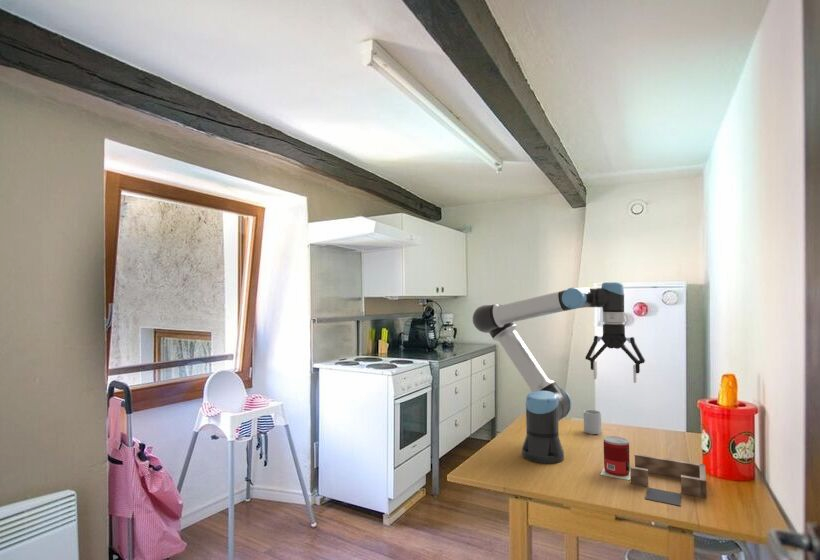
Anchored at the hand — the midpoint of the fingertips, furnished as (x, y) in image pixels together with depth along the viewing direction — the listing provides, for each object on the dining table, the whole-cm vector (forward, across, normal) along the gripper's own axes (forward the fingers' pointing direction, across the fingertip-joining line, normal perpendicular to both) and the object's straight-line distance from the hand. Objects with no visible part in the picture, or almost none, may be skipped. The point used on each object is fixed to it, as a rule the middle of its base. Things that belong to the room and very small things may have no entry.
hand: (614, 380), depth 169 cm
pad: (+29, +2, -14) cm, 32 cm away
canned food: (+29, +2, -14) cm, 32 cm away
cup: (+29, -13, +30) cm, 44 cm away
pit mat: (+29, +16, -27) cm, 43 cm away
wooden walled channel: (+29, +17, -14) cm, 36 cm away
